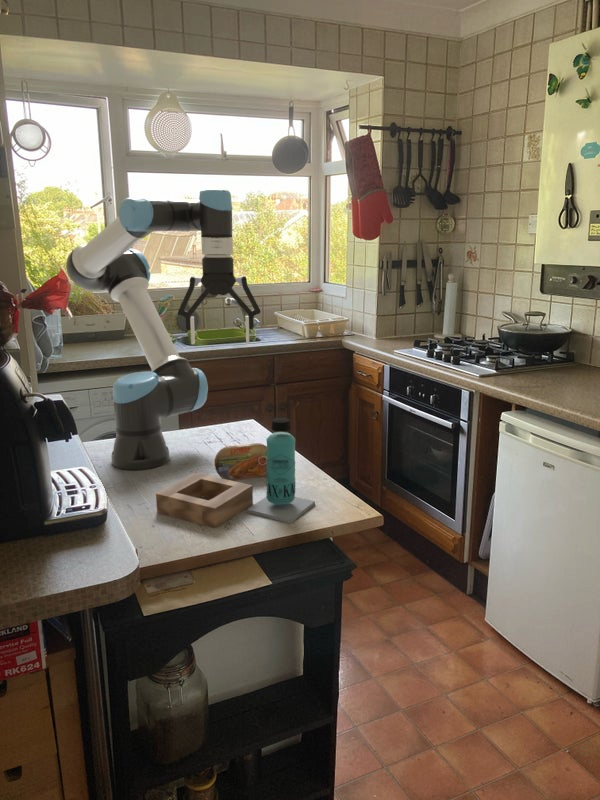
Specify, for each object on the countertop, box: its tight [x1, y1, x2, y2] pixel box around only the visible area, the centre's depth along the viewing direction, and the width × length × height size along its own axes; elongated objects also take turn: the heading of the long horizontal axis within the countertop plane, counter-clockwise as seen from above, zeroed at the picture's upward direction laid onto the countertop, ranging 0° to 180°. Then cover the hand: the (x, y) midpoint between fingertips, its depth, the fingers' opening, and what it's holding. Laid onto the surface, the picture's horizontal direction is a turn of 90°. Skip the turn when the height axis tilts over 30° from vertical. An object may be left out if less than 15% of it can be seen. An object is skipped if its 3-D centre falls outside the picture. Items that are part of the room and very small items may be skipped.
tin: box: [214, 442, 267, 481], centre depth 159 cm, size 15×3×8 cm, turn 105°
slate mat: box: [246, 495, 316, 524], centre depth 141 cm, size 11×11×1 cm
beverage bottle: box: [265, 417, 296, 505], centre depth 139 cm, size 6×7×20 cm
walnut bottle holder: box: [155, 472, 254, 529], centre depth 141 cm, size 16×14×4 cm
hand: (220, 343), depth 159 cm, fingers open, 13 cm apart
